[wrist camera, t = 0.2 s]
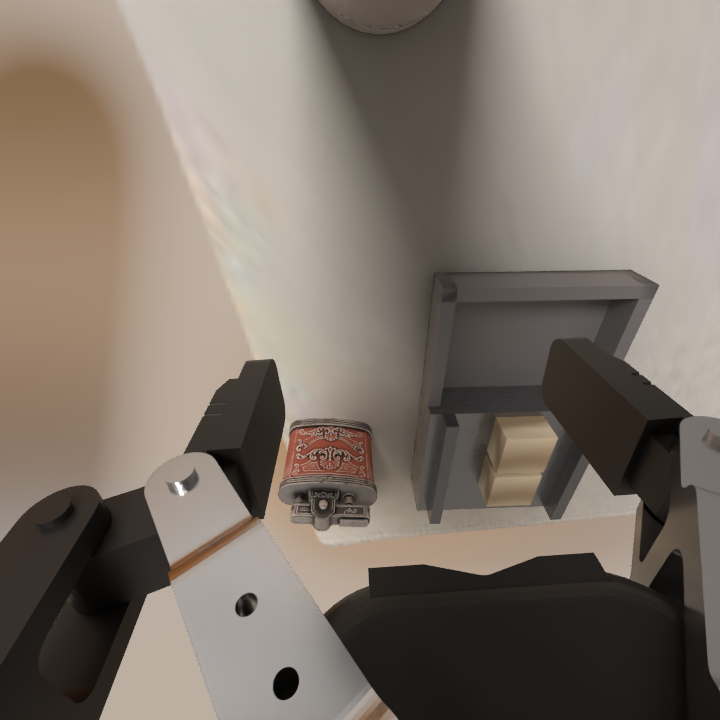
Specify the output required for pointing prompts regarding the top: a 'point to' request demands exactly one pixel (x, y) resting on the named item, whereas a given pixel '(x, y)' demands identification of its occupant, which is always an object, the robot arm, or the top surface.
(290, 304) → the top surface
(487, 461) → the chip
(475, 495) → the slot block
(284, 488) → the lighter
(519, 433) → the chip
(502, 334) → the tray
